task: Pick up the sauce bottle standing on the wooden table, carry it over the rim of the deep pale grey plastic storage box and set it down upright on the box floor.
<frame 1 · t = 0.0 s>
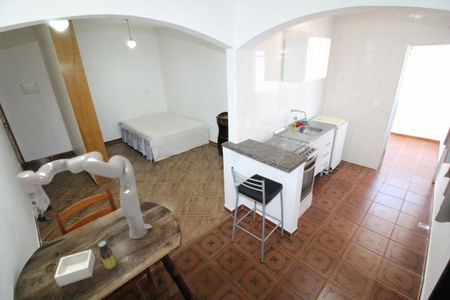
hand: (46, 215, 126), 31 cm above the table, tool pointing down, fingers open, 9 cm apart
sauce bottle: (111, 266, 130), on the table
storage box: (78, 271, 128), on the table
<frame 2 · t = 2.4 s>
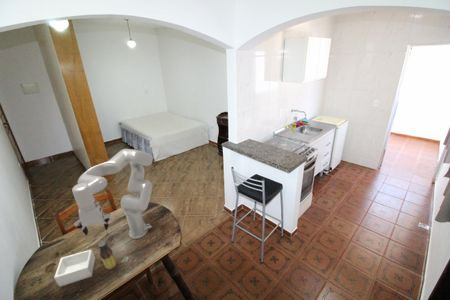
hand: (97, 230, 117), 29 cm above the table, tool pointing down, fingers open, 9 cm apart
nothing on the table moved.
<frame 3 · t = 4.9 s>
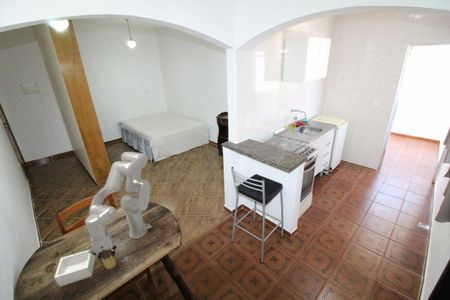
hand: (107, 256, 127), 9 cm above the table, tool pointing down, fingers closed on sauce bottle, 6 cm apart
sauce bottle: (111, 266, 130), on the table, touching gripper
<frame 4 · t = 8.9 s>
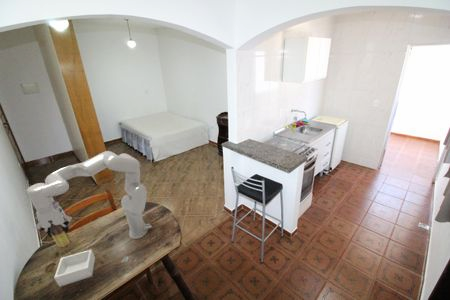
hand: (59, 233, 114), 31 cm above the table, tool pointing down, fingers closed on sauce bottle, 6 cm apart
sauce bottle: (65, 244, 118), point 22 cm above the table, touching gripper
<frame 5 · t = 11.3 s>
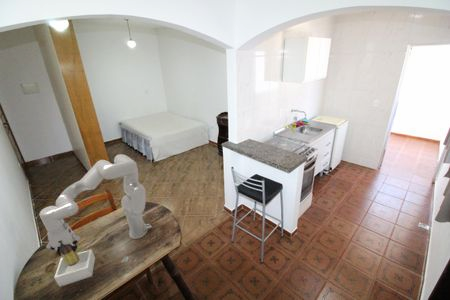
hand: (68, 251, 120), 17 cm above the table, tool pointing down, fingers closed on sauce bottle, 6 cm apart
sauce bottle: (73, 262, 124), point 8 cm above the table, touching gripper
when the fingers open (11 cm above the table, at t = 13.1 s): sauce bottle drops 2 cm, resting on storage box.
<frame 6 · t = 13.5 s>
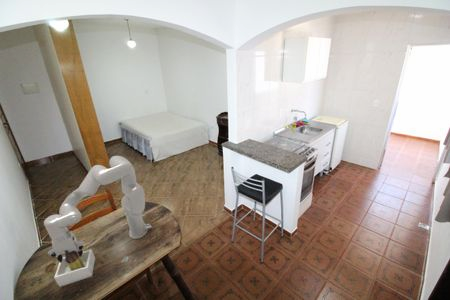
hand: (71, 257, 122), 12 cm above the table, tool pointing down, fingers open, 9 cm apart
sauce bottle: (78, 270, 127), point 1 cm above the table, touching storage box
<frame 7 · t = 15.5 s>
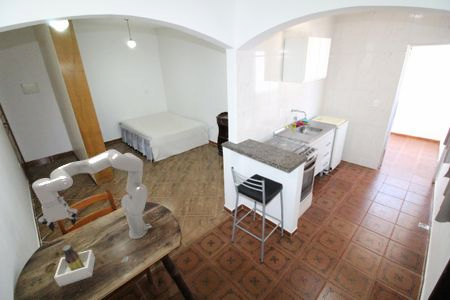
hand: (64, 226, 116), 33 cm above the table, tool pointing down, fingers open, 9 cm apart
nothing on the table moved.
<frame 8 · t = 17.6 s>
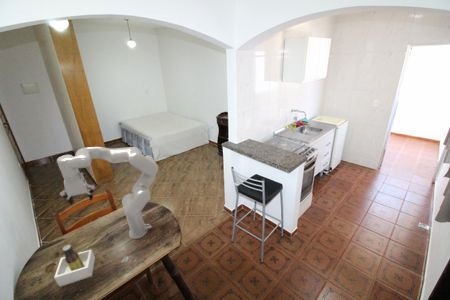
hand: (82, 201, 126), 38 cm above the table, tool pointing down, fingers open, 9 cm apart
nothing on the table moved.
at the end: sauce bottle 0.4 cm off-centre on the storage box, point 0.8 cm above the storage box's base; sauce bottle tilted 0°; the gripper is holding nothing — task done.
